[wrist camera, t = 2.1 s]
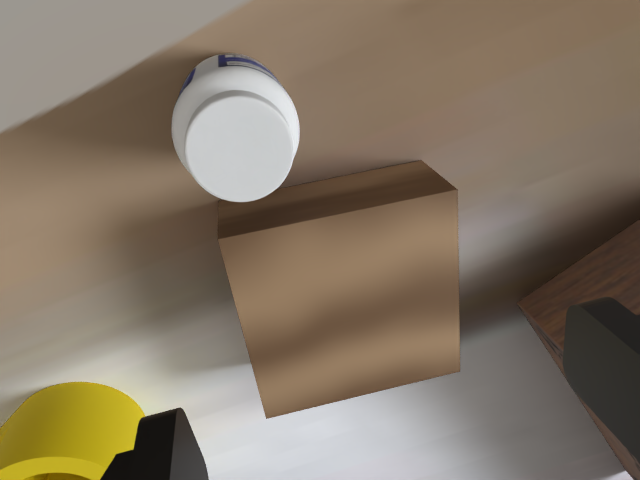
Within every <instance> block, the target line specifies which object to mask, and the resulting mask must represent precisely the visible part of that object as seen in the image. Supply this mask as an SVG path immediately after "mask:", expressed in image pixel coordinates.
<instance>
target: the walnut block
mask: <svg viewBox="0 0 640 480" xmlns="http://www.w3.org/2000/svg"><path fill="white" fill-rule="evenodd" d="M218 242H219V246H220V250H221V253H222V257H223V261H224V264H225V268H226V272H227V276H228V279H229V283H230V287H231V290H232V294H233V298H234V301H235V305H236V309H237V312H238V316H239V320H240V323H241V327H242V331H243V335H244V338H245V342H246V346H247V349H248V353H249V357H250V360H251V364H252V368H253V371H254V375H255V379H256V382H257V386H258V390H259V393H260V397H261V401H262V405H263V408H264V412H265V416H266V419H267V418H271V417H276V416H280V415H284V414H288V413H292V412H296V411H300V410H304V409H308V408H312V407H316V406H321V405H325V404H329V403H333V402H337V401H341V400H345V399H349V398H353V397H357V396H361V395H366V394H370V393H374V392H378V391H382V390H386V389H390V388H394V387H398V386H402V385H406V384H410V383H415V382H419V381H423V380H427V379H431V378H435V377H439V376H443V375H447V374H451V373H455V372H460V331H459V257H458V190H457V189H456V188H455V187H454V186H453V185H451V184H450V183H449V182H448V181H446V180H445V179H444V178H443V177H441V176H440V175H439V174H438V173H437V172H435V171H434V170H433V169H432V168H430V167H429V166H428V165H427V164H425V163H424V162H423V161H422V160H420V161H415V162H410V163H405V164H400V165H395V166H390V167H385V168H380V169H375V170H370V171H365V172H360V173H355V174H350V175H345V176H340V177H335V178H330V179H325V180H320V181H315V182H310V183H306V184H301V185H296V186H291V187H286V188H281V189H276V190H274V191H273V192H272V193H270V194H268V195H267V196H265V197H263V198H260V199H257V200H254V201H249V202H231V201H227V200H221V201H218Z"/></svg>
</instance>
